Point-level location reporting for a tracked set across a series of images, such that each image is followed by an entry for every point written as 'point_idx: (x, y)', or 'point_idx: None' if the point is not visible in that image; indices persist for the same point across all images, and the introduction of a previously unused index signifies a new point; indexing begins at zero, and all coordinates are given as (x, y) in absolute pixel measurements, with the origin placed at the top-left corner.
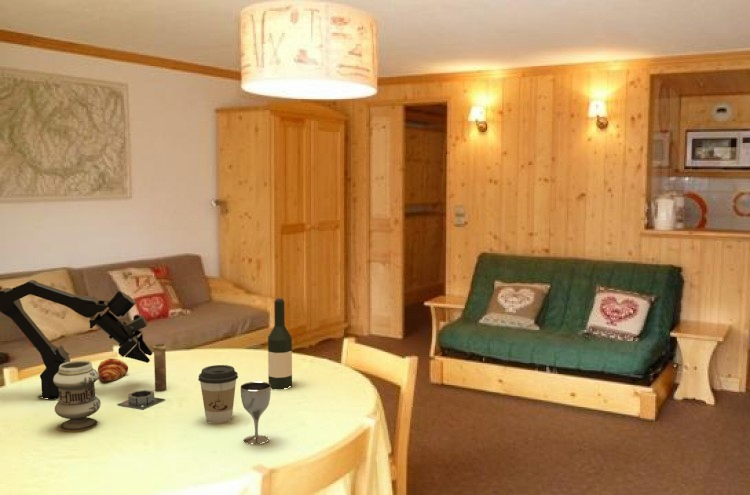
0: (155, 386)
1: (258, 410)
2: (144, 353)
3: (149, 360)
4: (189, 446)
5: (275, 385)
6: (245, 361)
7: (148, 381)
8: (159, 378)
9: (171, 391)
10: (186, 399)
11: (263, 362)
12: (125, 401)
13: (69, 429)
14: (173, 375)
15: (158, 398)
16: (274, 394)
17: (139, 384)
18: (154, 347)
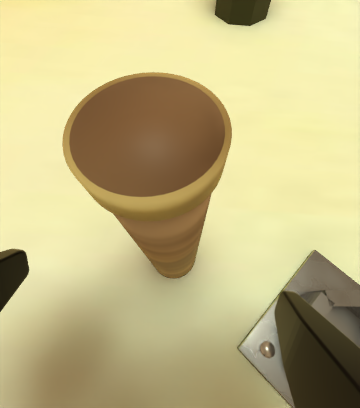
0: (180, 274)
1: None
2: (356, 375)
3: (296, 296)
4: None
5: (267, 6)
6: (4, 34)
7: (31, 297)
8: (197, 249)
9: (206, 221)
10: (309, 185)
11: (40, 11)
12: None
13: None
14: (11, 199)
15: (304, 273)
16: (297, 24)
17: (54, 342)
18: (193, 197)
